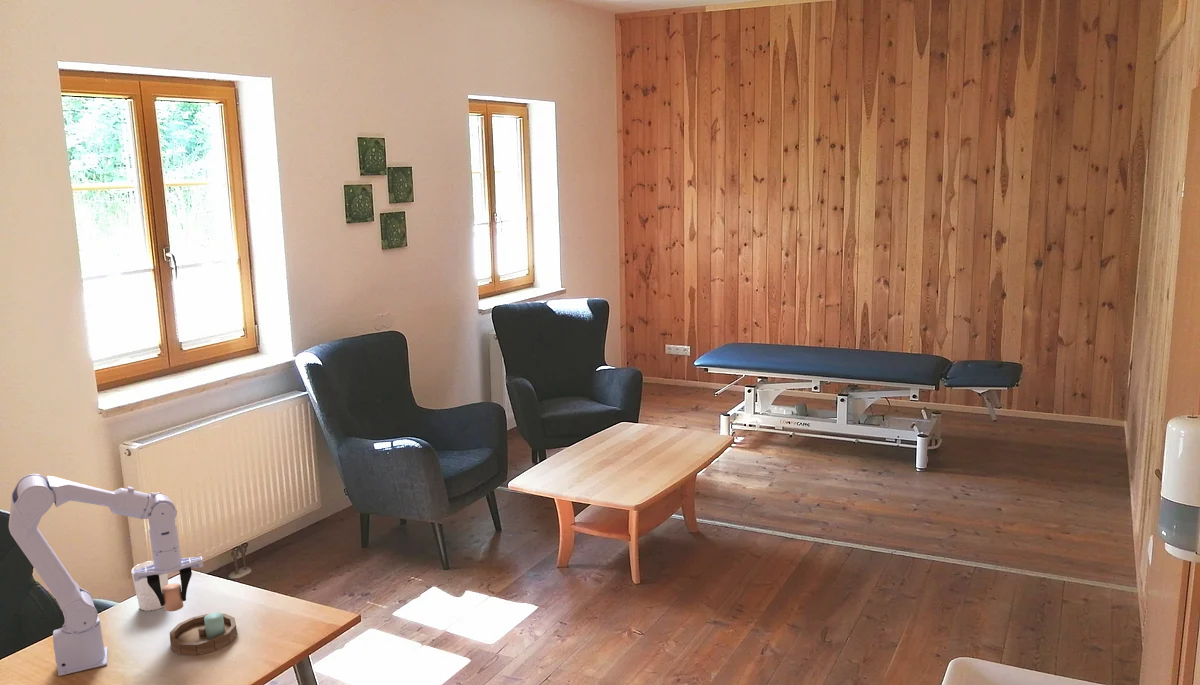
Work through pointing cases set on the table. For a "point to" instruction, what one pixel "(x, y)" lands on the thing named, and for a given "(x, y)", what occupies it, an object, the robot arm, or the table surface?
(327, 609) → the table surface
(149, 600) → the white cup
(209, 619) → the pale teal rounded piece
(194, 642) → the tray
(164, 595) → the peach rounded cylinder
